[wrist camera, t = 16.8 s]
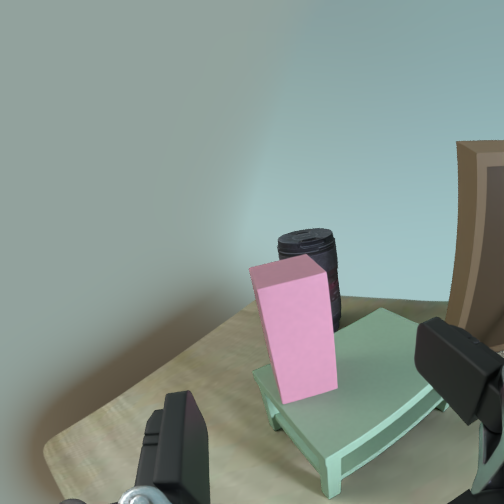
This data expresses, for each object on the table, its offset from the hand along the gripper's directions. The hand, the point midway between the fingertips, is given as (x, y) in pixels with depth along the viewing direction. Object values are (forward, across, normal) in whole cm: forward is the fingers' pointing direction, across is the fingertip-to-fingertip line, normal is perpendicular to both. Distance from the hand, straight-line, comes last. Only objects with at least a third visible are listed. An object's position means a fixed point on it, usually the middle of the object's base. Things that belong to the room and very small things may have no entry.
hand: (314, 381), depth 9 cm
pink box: (+11, -2, +10) cm, 15 cm away
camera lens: (+31, -8, +18) cm, 37 cm away
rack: (+11, -7, +18) cm, 22 cm away
